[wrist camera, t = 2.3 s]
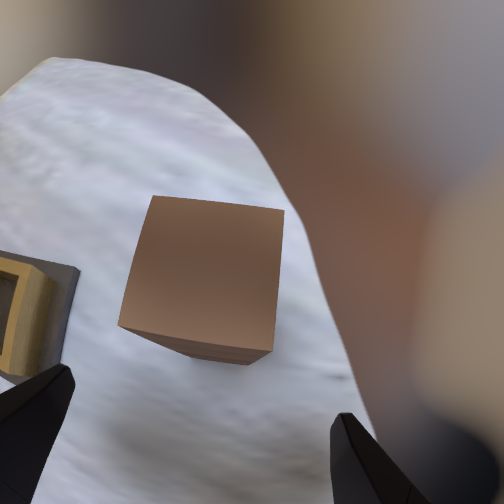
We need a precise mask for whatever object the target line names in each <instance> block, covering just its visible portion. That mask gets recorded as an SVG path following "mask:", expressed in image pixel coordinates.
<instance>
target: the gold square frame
mask: <svg viewBox="0 0 504 504" xmlns="http://www.w3.org/2000/svg"><path fill="white" fill-rule="evenodd" d="M79 273H80V271H79V270H78V269H77V268H76V267H74V266H69V265H64V264H59V263H54V262H49V261H45V260H40V259H35V258H31V257H26V256H22V255H18V254H13V253H9V252H5V251H1V250H0V376H1V377H3V378H4V379H6V380H8V381H9V382H11V383H13V384H15V385H18V384H20V383H22V382H24V381H26V380H28V379H30V378H32V377H34V376H35V375H37V374H39V373H41V372H43V371H45V370H47V369H49V368H51V367H53V366H54V365H56V364H59V363H60V358H61V352H62V346H63V340H64V335H65V330H66V325H67V321H68V316H69V312H70V308H71V303H72V299H73V295H74V292H75V288H76V284H77V280H78V277H79Z"/></svg>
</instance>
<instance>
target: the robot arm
mask: <svg viewBox="0 0 504 504" xmlns="http://www.w3.org/2000/svg"><path fill="white" fill-rule="evenodd" d="M74 390H75V380H74V378H73V375H72V372H71V370H70V368H69V367H68V366H66V365H63V364H60V363H59V364H56V365H54V366H53V367H51V368H49V369H47V370H45V371H43V372H41V373H39V374H37V375H35V376H34V377H32V378H30V379H28V380H26V381H24V382H22V383H20V384H18V385H16V386H14V387H13V388H11V389H9V390H7V391H5V392H3V393H1V394H0V504H31V501H32V498H33V495H34V492H35V490H36V487H37V484H38V481H39V479H40V476H41V473H42V471H43V468H44V466H45V463H46V461H47V458H48V456H49V453H50V451H51V449H52V446H53V444H54V442H55V439H56V437H57V435H58V433H59V430H60V428H61V426H62V424H63V421H64V418H65V416H66V413H67V410H68V407H69V404H70V401H71V398H72V395H73V392H74ZM330 471H331V481H332V489H333V497H334V504H432V503H431V502H430V501H429V500H428V499H427V498H426V497H425V496H424V495H423V494H422V493H421V492H420V491H419V490H418V489H417V487H416V486H415V485H414V484H412V482H411V481H410V480H409V479H408V477H407V476H406V475H405V474H404V473H403V472H402V471H401V470H400V468H399V467H398V466H397V465H396V464H395V463H394V462H393V461H392V459H391V458H390V457H389V456H388V455H387V454H386V452H385V451H384V450H383V449H382V448H381V447H380V445H379V444H378V443H377V442H376V441H375V440H374V438H373V437H372V436H371V435H370V434H369V433H368V431H367V430H366V429H365V428H364V427H363V425H362V424H361V423H360V422H359V421H358V420H357V418H356V417H355V416H354V415H353V414H352V413H339V414H338V415H337V417H336V419H335V421H334V423H333V424H332V426H331V429H330Z"/></svg>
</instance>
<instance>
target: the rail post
mask: <svg viewBox="0 0 504 504" xmlns="http://www.w3.org/2000/svg"><path fill="white" fill-rule="evenodd" d="M283 225H284V210H279V209H272V208H264V207H257V206H249V205H241V204H233V203H224V202H215V201H206V200H197V199H187V198H177V197H166V196H155V195H153V196H152V199H151V202H150V205H149V208H148V211H147V214H146V217H145V221H144V224H143V227H142V230H141V234H140V237H139V240H138V244H137V247H136V251H135V254H134V258H133V262H132V265H131V269H130V273H129V277H128V281H127V285H126V289H125V293H124V298H123V302H122V306H121V311H120V316H119V320H118V326H120V327H122V328H124V329H126V330H128V331H130V332H132V333H134V334H137V335H139V336H141V337H143V338H145V339H148V340H150V341H152V342H155V343H157V344H159V345H162V346H164V347H166V348H169V349H171V350H174V351H176V352H178V353H181V354H183V355H186V356H189V357H193V358H199V359H205V360H211V361H218V362H225V363H232V364H240V365H250V364H251V363H253V362H255V361H257V360H258V359H260V358H262V357H263V356H265V355H267V354H268V353H270V352H272V350H273V340H274V330H275V320H276V309H277V299H278V287H279V276H280V264H281V251H282V238H283Z"/></svg>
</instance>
